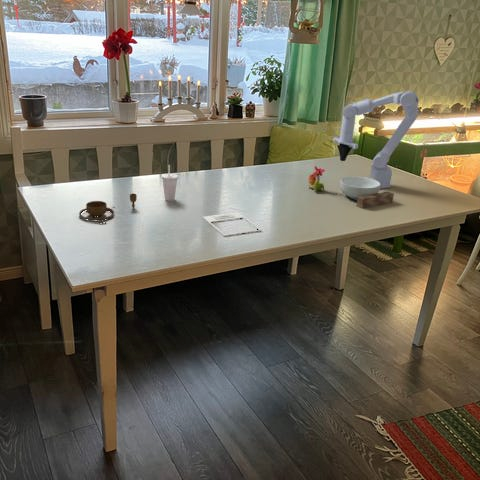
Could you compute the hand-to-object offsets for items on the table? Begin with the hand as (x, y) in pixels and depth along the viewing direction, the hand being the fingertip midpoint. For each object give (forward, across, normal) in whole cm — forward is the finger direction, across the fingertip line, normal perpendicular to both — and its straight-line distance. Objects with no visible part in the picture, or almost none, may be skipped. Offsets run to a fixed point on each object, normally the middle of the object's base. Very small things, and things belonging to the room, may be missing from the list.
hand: (342, 160), depth 236 cm
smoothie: (+10, -5, -86) cm, 87 cm away
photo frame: (+10, +27, -77) cm, 82 cm away
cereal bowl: (+10, +22, -10) cm, 26 cm away
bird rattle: (+10, +7, -22) cm, 25 cm away
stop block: (+9, +32, -10) cm, 35 cm away
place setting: (+10, +2, -113) cm, 114 cm away
